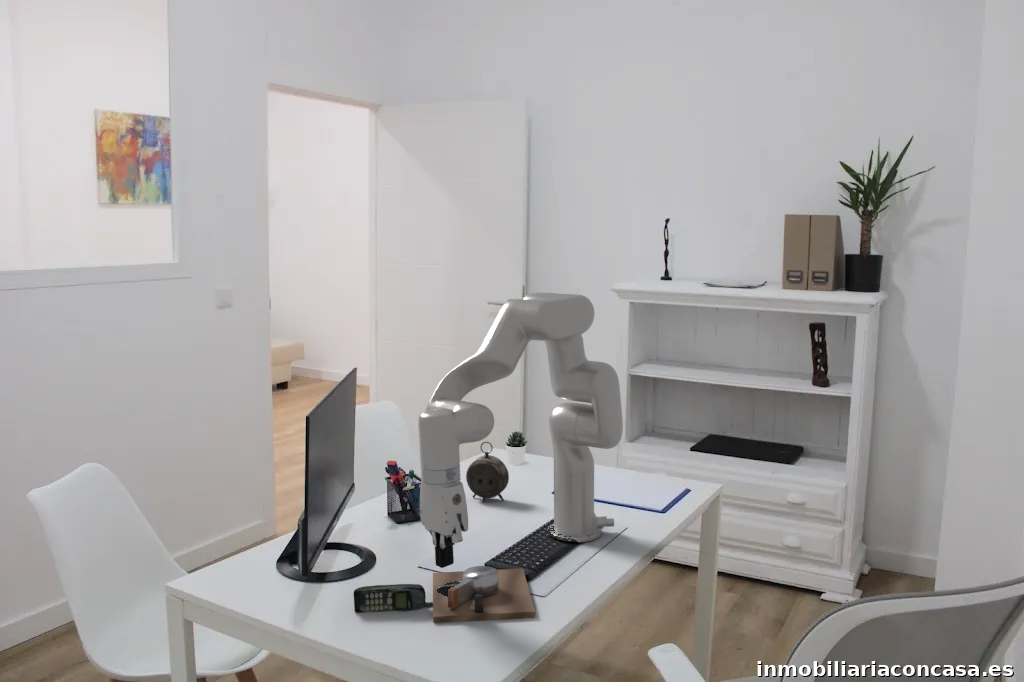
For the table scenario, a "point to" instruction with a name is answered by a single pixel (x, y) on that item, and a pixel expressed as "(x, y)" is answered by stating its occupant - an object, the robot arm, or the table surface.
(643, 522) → the table surface
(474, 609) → the plinth
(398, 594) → the mobile phone
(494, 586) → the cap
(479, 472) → the alarm clock
